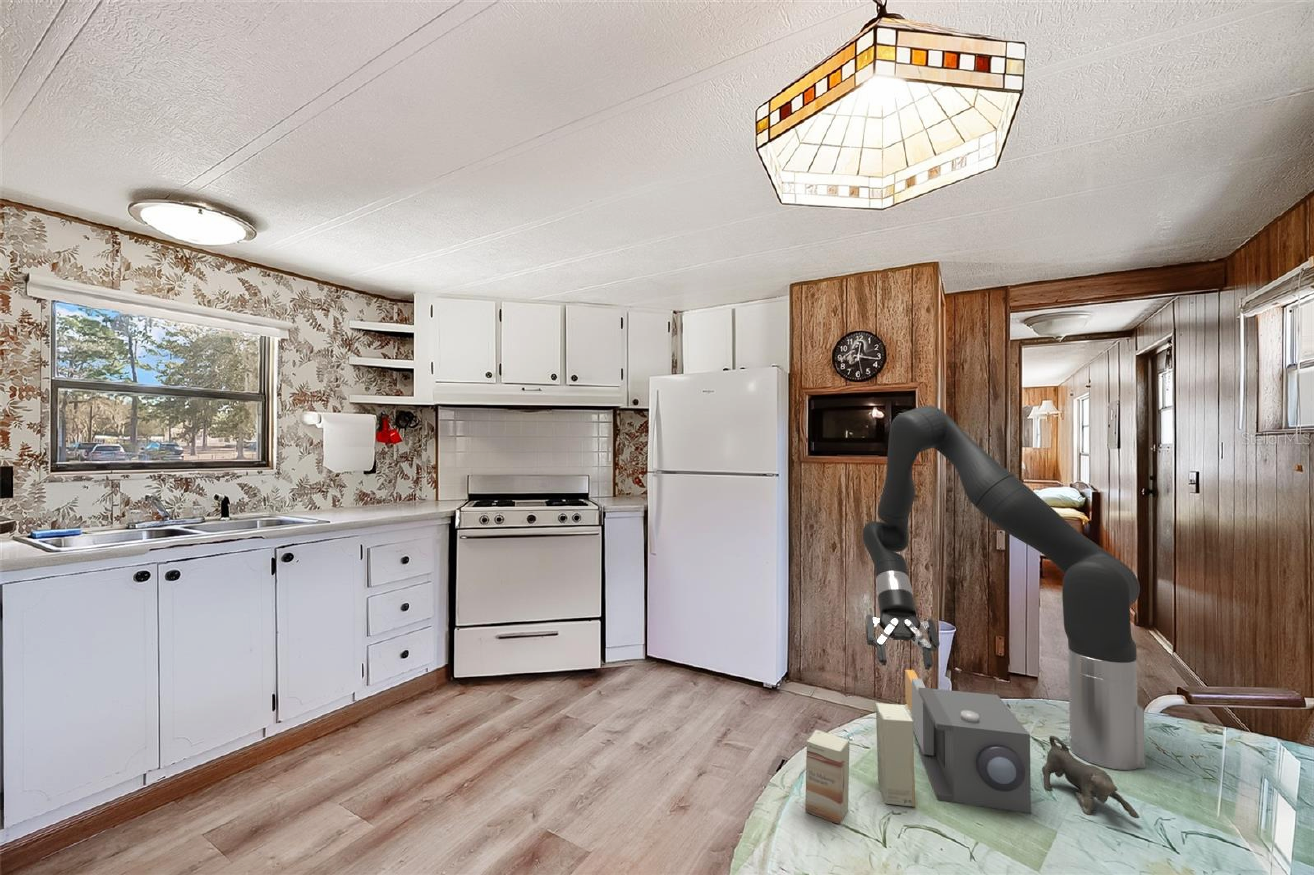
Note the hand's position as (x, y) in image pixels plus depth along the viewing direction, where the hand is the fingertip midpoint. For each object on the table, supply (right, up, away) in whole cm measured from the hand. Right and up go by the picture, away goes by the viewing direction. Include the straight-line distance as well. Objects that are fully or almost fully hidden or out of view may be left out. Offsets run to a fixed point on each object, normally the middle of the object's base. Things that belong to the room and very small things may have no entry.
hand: (906, 666), depth 119 cm
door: (-4, -6, -15) cm, 17 cm away
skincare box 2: (-16, -6, -33) cm, 37 cm away
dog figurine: (+11, -6, -35) cm, 37 cm away
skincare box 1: (-27, -6, -37) cm, 47 cm away
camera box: (-3, -6, -30) cm, 30 cm away
